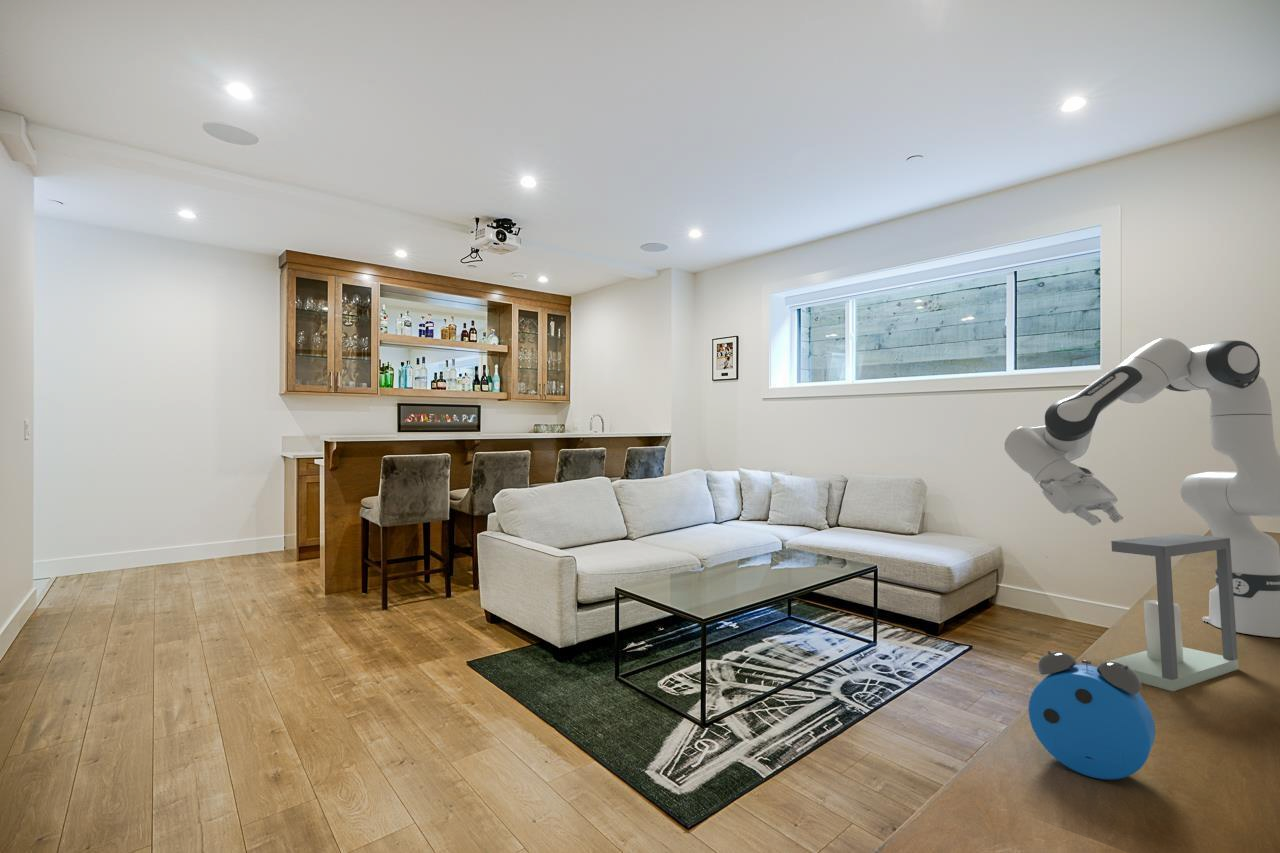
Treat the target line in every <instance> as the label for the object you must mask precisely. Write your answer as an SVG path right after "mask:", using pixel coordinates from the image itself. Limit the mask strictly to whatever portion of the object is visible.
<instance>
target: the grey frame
mask: <svg viewBox="0 0 1280 853" xmlns="http://www.w3.org/2000/svg"><path fill="white" fill-rule="evenodd" d="M1110 543H1111V552H1114V553H1122V554H1132V555H1141V556H1150V557H1154V558H1155V571H1156V575H1155V576H1156V590H1157V600H1158V612H1159V629H1160V646H1161V662H1160V661H1156V660H1153V659H1150V658H1148V657H1147V649H1146V650H1143V651H1140V652H1139V651H1138V652H1136V653H1132V654H1127V655H1125V656H1121V657H1116V658H1113V659H1110V660H1108V661H1112V662H1117V663H1120V664H1123V665H1125V666H1126V665H1127V666H1128V668H1130V669H1131V670H1132V671H1133V672H1134V673H1135V674H1136V675H1137V676H1138V678H1139V679H1140V681H1141V684H1144V685H1148V686H1152V687H1156V688H1159V689H1163V690H1167V691H1169V692H1175V691H1178V690H1183V689H1184V688H1188V687H1190V686H1193V685H1196V684H1199V683H1203V682H1205V681H1207V680H1211V679H1214V678H1217V677H1221V676H1223V675H1225V674H1229V673H1230V672H1231V673H1232V672H1234V671H1237V670H1239V660H1238V658H1239V657H1238V656H1239V654H1238V644H1237V643H1238V642H1237V641H1238V640H1237V632H1236V624H1235V609H1234V594H1233V578H1232V563H1231V548H1230V538H1223V537H1213V536H1210V535H1207V536H1206V535H1197V534H1183V533H1172V534H1165V535H1164V534H1162V535H1154V536H1147V537H1145V536H1144V537H1136V538H1126V539H1119V540H1111V541H1110ZM1212 551H1215V553H1217V556H1216V563H1217V564H1216V565H1217V566H1216V567H1217V568H1218V584H1219V599H1220V615H1221V628H1220V629H1221V631H1220V632H1221V644H1222V645H1221V646H1222V655H1221V654H1217V653H1213V652H1208V651H1205V650H1204V651H1203V650H1198V649H1194V648H1190V647H1185V646H1183V660H1184V662H1183V663H1177V653H1176V637H1175V620H1174V603H1175V602H1174V590H1173V589H1174V588H1173V587H1174V586H1173V575H1172V574H1173V572H1172V571H1173V570H1172V557H1177V556H1178V557H1179V556H1186V555H1192V554H1198V553H1205V552H1212ZM1217 568H1216V569H1217Z"/></svg>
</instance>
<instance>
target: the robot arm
mask: <svg viewBox="0 0 1280 853" xmlns="http://www.w3.org/2000/svg"><path fill="white" fill-rule="evenodd" d="M1260 371H1261V360H1260V356H1259V354H1258V352H1257V350H1256V349H1255V347H1253V346H1252V345H1251V344H1250V343H1249V342H1246V341H1244V340H1243V341H1242V340H1222V341H1219V342H1215V343H1213V342H1212V343H1207V344H1202V345H1197V346H1195V347H1192V348H1188V346H1187V345H1186V344H1185V343H1184V342H1182V341H1180V340H1178V339H1175V338H1172V337H1171V338H1170V337H1162V338H1158V339H1154V340H1152V341H1151V342H1149V343H1146V344H1145V345H1144V346H1142V347H1140V348H1139V349H1137V350H1136V351H1134V352H1133V353H1131V354H1130V355H1129V356H1127V357H1126V358H1125V359H1124V360H1122V361H1121V362H1120V363H1119V364H1118V365H1117V366H1116V367H1114V368H1113V369H1111V370H1110V371H1108V372H1107V373H1105V374H1103V375H1102V376H1101V377H1099V378H1098V379H1096V380H1095V381H1093V382H1091V384H1089V385H1088V386H1086V387H1085V388H1084V389H1083V390H1081V391H1079V392H1078V393H1076V394H1074V395H1072V396H1069V397H1066V398H1063V399H1060V400H1057V401H1056V402H1054V403H1052V404H1051V405H1050V406H1049V407H1048V408H1047V410H1046V411H1045V413H1044V425H1042V426H1032V427H1031V426H1029V427H1028V426H1024V425H1021V426H1018V427H1016V428H1015V429H1014V430H1013V431H1011V432H1010V433H1009V434H1008V436H1007V438H1006V439H1005V442H1004V451H1005V453H1006V454H1007V456H1008V457H1009V458H1010V459H1011V460H1012V461H1013V462H1014V463H1015V464H1016V466H1018V467H1019V468H1020V469H1021V470H1022V471H1024V472H1025V473H1027V474H1029V475H1030V476H1031V477H1032V479H1033V481H1034V482H1035V483H1036V484H1037V485H1038V487H1040V489H1042V494H1043V496H1044V497H1045V498H1046V500H1047V501H1048V502H1049V503H1050V504H1051V505H1052V506H1053V507H1054V508H1055V509H1056V510H1057V511H1059V512H1060V513H1061V514H1063V515H1064V514H1065V515H1066V514H1075V516H1077V517H1078V518H1081V519H1083V520H1085V521H1086V522H1088V524H1090V526H1093V527H1094V526H1098V525H1099V524H1101V523H1102V519H1100V518H1099V517H1098V515H1096V514H1093V513H1092V512H1093V511H1103V512H1104V513H1106V514H1107V515H1108V518H1109V520H1111V521H1112V522H1113V523H1115V524H1116V523H1120V522H1122V521H1123V520H1124V516H1123V515H1121V513H1119V511H1118V509H1117V508H1116V506H1115V504H1116V503H1117V502H1118V497H1117V496H1116V494H1114V492H1112V490H1111V489H1109V487H1107V486H1106V485H1105V484H1104V483H1103V482H1101V481H1100V480H1099V479H1098V478H1096V477H1094V472H1093V471H1091V470H1090V469H1089V468H1085V467H1082V466H1079V465H1077V464H1075V463H1073V461H1075V460H1076V459H1079V458H1081V457H1083V456H1084V454H1086V452H1087V451H1088V449H1089V446H1090V442H1091V438H1092V434H1093V431H1094V430H1093V429H1094V427H1095V424H1096V421H1097V419H1098V416H1099V415H1100V413H1101V412H1103V411H1104V410H1106V409H1107V408H1108V407H1109V406H1111V405H1112V404H1113V403H1116V401H1117V400H1120V401H1123V402H1126V403H1129V404H1143V403H1145V402H1147V401H1149V400H1152V398H1154V397H1156V396H1157V395H1159V394H1160V393H1161V392H1162V391H1164V390H1165V389H1167V390H1169V391H1172V392H1173V391H1174V392H1183V393H1184V392H1185V393H1186V392H1191V391H1201V390H1205V391H1206V392H1207V393H1208V395H1209V398H1210V406H1209V407H1210V408H1209V409H1210V412H1209V413H1210V414H1209V416H1210V420H1209V422H1210V423H1209V424H1210V444H1211V446H1212V447H1213V449H1214V450H1215V451H1216V452H1217V453H1220V454H1222V455H1223V456H1227V457H1229V458H1230V459H1231V460H1232V462H1234V464H1235V467H1236V471H1235V470H1234V471H1233V470H1232V471H1231V470H1230V471H1229V470H1228V471H1227V470H1224V471H1223V470H1222V471H1220V470H1219V471H1218V470H1212V471H1211V470H1210V471H1204V472H1199V473H1198V472H1197V473H1193V474H1189V475H1187V476H1186V477H1185V478H1184V479H1183V481H1182V482H1181V484H1180V492H1179V493H1180V497H1181V499H1182V500H1183V502H1184V503H1185V505H1186V506H1187V507H1189V508H1190V509H1192V510H1194V512H1196V513H1197V514H1198V515H1199V517H1201V518H1202V519H1203V520H1204V522H1205V523H1206V526H1208V528H1209V530H1210V533H1211V534H1212V537H1223V538H1230V548H1231V563H1232V578H1233V594H1234V609H1235V624H1236V633H1241V634H1245V635H1246V634H1247V635H1252V636H1261V637H1269V638H1280V546H1279V543H1278V542H1277V540H1276V539H1275V538H1273V536H1271V535H1270V534H1267V533H1265V532H1263V531H1261V530H1260V529H1258V528H1257V526H1256V525H1255V524H1254V522H1253V521H1252V519H1251V517H1265V518H1280V454H1279V452H1278V450H1277V446H1276V443H1275V436H1274V435H1275V434H1274V427H1273V426H1274V424H1273V408H1272V401H1271V395H1270V393H1269V388H1268V386H1267V382H1266V381H1265V379H1264V378H1263V377H1262V376H1260V375H1259V374H1260ZM1215 553H1216V552H1215ZM1215 555H1216V556H1215V557H1217V553H1216V554H1215ZM1214 571H1215V573H1214V578H1215V583H1216V584H1217V585H1216V586H1215V587H1214V588H1212V589H1210V590H1209V599H1208V600H1209V601H1208V602H1209V603H1208V604H1209V605H1208V615H1207V616H1206V615H1205V616H1203V617H1202V620H1203V622H1204V621H1205V623H1207V622H1208V624H1211V625H1212V626H1214V627H1216V628H1219V629H1221V615H1220V599H1219V584H1218V568H1216V569H1215V570H1214Z"/></svg>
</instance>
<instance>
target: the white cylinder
mask: <svg viewBox="0 0 1280 853" xmlns="http://www.w3.org/2000/svg"><path fill="white" fill-rule="evenodd" d="M1173 603H1174V620H1175V637H1176V653H1177V663H1183V662H1184V660H1183V647H1184V646H1183V633H1182V631H1183V630H1182V620H1181V618H1182V617H1181V605H1180V604H1179V603H1176V602H1173ZM1143 612H1144V627H1145V629H1144V630H1145V643H1146V644H1145V645H1146V650H1147V657H1148V658H1150V659H1153V660H1156V661H1160V662H1161V646H1160V629H1159V612H1158V599H1157V600H1156V599H1146V600H1145V599H1144V600H1143Z"/></svg>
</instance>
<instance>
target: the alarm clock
mask: <svg viewBox="0 0 1280 853" xmlns="http://www.w3.org/2000/svg"><path fill="white" fill-rule="evenodd" d="M1081 663H1082V664H1078V661H1077V660H1076V659H1075V658H1074V657H1073V656H1072V655H1071V654H1069V653H1067V652H1063V651H1052V652H1051V651H1050V650H1048V651H1047V653H1046V654H1044V655H1042V656H1041V657H1040V658H1039V660H1038V662H1037V670H1038V672H1039V674H1040V675H1042V676H1044V675H1046V676H1045V677H1044V678H1043V679H1042V680H1041V681H1040V682H1039V683H1038V684H1037V685H1036V686H1035V688H1034V689H1033V690H1032V692H1031V694H1030V697H1029V701H1028V717H1029V721H1030V725H1031V728H1032V729H1033V732H1034V734H1035V736H1036V737H1037V738H1036V739H1038V741H1039V742H1040V744H1041V745H1042V746H1043V747H1044V748H1045V750H1046V751H1047V752H1048V753H1049V754H1050V755H1051V756H1052V757H1053V758H1054V759H1056V760H1057V761H1058V762H1059V763H1060V764H1062V765H1064V766H1065V767H1067V768H1068V769H1070V770H1073V771H1074V772H1076V773H1079V774H1081V775H1083V776H1087V777H1090V778H1094V779H1099V780H1119V779H1120V780H1121V779H1124V778H1126V777H1129V776H1130V777H1131V775H1134V774H1135V773H1137V772H1138V771H1140V769H1141V768H1142V767H1143V766H1144V765H1145V764H1146V763H1147V760H1148V758H1149V755H1150V753H1151V750H1152V747H1153V745H1154V743H1155V737H1156V726H1155V720H1154V716H1153V715H1152V712H1151V709H1150V707H1149V706H1148V704H1147V702H1146V701H1145V699H1144V698H1143V697H1142V696H1141V694H1140V693H1141V691H1142V686H1143V685H1142V683H1141V681H1140V679H1139V678H1138V676H1137V675H1136V674H1135V673H1134V672H1133V671H1132V670H1131V669H1130V668H1128V666H1127V665H1126V666H1125V665H1123V664H1120V663H1117V662H1112V661H1109V660H1106V661H1103V662H1101V663H1099V664H1098V665H1097V666H1093V665H1092V661H1091V660H1085V659H1081Z"/></svg>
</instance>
